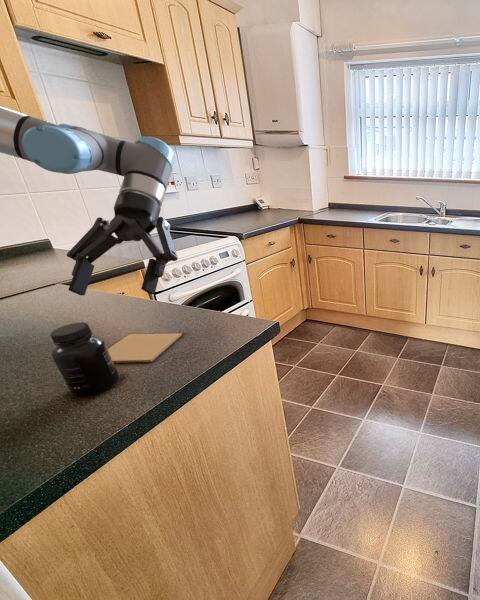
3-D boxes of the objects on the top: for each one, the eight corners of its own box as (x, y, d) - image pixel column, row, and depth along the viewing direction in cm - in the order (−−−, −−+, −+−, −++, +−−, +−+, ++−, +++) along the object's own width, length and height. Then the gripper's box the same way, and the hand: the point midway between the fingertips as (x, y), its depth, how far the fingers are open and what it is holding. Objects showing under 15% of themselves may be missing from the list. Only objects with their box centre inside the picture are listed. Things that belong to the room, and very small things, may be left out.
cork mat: (91, 363, 68) (90, 361, 68) (130, 335, 78) (129, 334, 78) (151, 362, 68) (150, 360, 68) (182, 335, 78) (181, 333, 78)
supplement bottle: (94, 374, 65) (69, 318, 60) (129, 374, 64) (106, 319, 59) (60, 398, 58) (29, 338, 53) (98, 399, 58) (70, 339, 53)
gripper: (207, 211, 76) (188, 298, 69) (96, 212, 76) (64, 300, 68) (188, 189, 69) (165, 283, 62) (65, 190, 69) (26, 285, 61)
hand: (112, 292), depth 65 cm, fingers open, 13 cm apart
